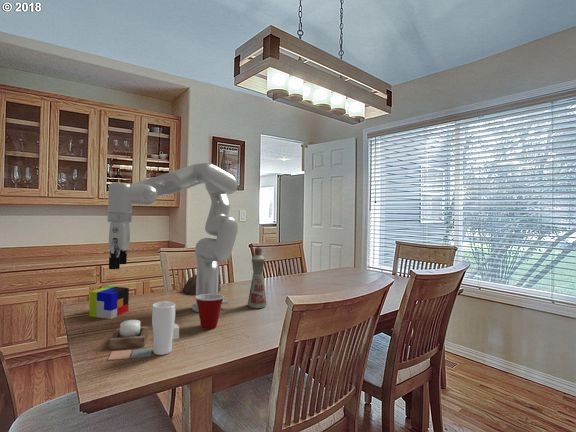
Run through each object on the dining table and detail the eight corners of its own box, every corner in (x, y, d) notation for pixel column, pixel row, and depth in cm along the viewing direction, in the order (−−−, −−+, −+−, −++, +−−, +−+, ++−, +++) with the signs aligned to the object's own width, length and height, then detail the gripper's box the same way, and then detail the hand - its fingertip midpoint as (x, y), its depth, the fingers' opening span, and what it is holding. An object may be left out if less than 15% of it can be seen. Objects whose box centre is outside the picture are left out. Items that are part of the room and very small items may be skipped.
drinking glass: (155, 347, 104) (156, 301, 104) (176, 347, 104) (178, 301, 104) (147, 356, 97) (149, 307, 97) (170, 356, 98) (172, 307, 97)
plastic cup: (223, 321, 130) (224, 291, 129) (223, 331, 119) (224, 299, 119) (195, 322, 127) (196, 291, 127) (193, 332, 117) (194, 299, 117)
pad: (131, 350, 101) (131, 349, 101) (128, 358, 96) (128, 357, 96) (112, 352, 99) (112, 351, 99) (107, 360, 94) (107, 359, 94)
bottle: (260, 302, 157) (262, 245, 156) (269, 307, 150) (272, 247, 149) (244, 304, 152) (246, 245, 152) (253, 310, 145) (255, 248, 144)
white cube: (176, 334, 115) (176, 323, 115) (178, 338, 111) (179, 327, 111) (164, 336, 113) (164, 325, 112) (166, 341, 109) (167, 329, 109)
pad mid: (152, 349, 103) (152, 348, 103) (150, 356, 97) (150, 355, 97) (133, 350, 101) (133, 349, 101) (130, 358, 96) (130, 357, 96)
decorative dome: (226, 288, 182) (226, 270, 181) (210, 297, 162) (210, 278, 162) (194, 285, 186) (195, 268, 185) (175, 294, 166) (176, 274, 166)
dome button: (141, 330, 111) (141, 319, 111) (138, 337, 105) (138, 325, 105) (122, 332, 109) (122, 320, 109) (118, 339, 103) (118, 326, 103)
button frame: (148, 334, 113) (148, 326, 113) (144, 346, 104) (144, 337, 104) (116, 336, 111) (116, 328, 111) (109, 349, 101) (109, 340, 101)
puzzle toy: (110, 319, 127) (111, 294, 127) (89, 316, 129) (89, 291, 129) (128, 311, 137) (128, 288, 137) (107, 308, 139) (108, 285, 139)
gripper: (125, 219, 106) (123, 271, 106) (136, 217, 123) (134, 262, 123) (100, 218, 104) (98, 271, 104) (114, 216, 121) (113, 262, 121)
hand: (118, 266), depth 114 cm, fingers open, 9 cm apart
